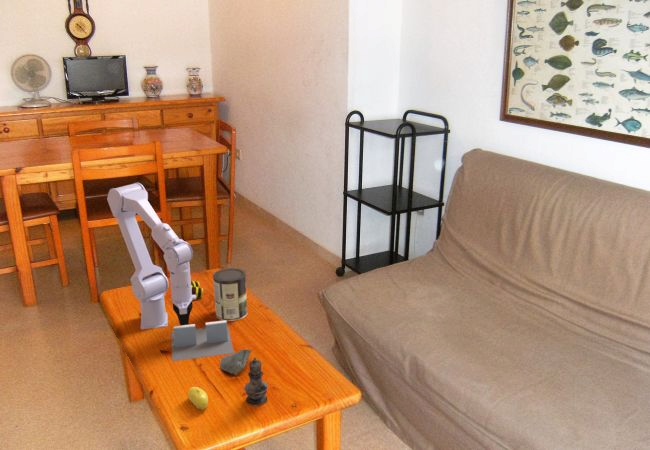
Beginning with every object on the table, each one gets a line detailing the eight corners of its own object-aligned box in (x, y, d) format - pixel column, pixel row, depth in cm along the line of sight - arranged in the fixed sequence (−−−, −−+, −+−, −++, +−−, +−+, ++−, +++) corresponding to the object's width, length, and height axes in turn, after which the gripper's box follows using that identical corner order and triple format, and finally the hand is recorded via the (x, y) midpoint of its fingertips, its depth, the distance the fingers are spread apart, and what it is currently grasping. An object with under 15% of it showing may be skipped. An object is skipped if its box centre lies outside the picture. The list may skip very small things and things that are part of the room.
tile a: (175, 344, 174) (173, 326, 172) (196, 342, 175) (194, 323, 173) (175, 347, 172) (173, 329, 170) (196, 344, 174) (195, 326, 172)
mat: (171, 333, 181) (171, 332, 181) (227, 326, 185) (227, 325, 185) (172, 362, 166) (172, 361, 165) (234, 354, 170) (234, 353, 170)
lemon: (195, 415, 144) (194, 401, 142) (186, 397, 150) (185, 384, 149) (212, 409, 145) (211, 396, 144) (202, 393, 152) (201, 379, 151)
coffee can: (238, 304, 200) (236, 265, 195) (253, 316, 191) (251, 276, 187) (210, 312, 194) (207, 272, 190) (223, 325, 186) (221, 283, 181)
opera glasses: (203, 302, 204) (205, 288, 203) (187, 302, 201) (189, 288, 200) (196, 291, 212) (198, 277, 211) (181, 291, 210) (183, 277, 208)
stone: (217, 385, 157) (253, 373, 157) (212, 371, 156) (248, 360, 156) (222, 366, 168) (255, 355, 168) (217, 354, 167) (251, 343, 167)
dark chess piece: (245, 393, 152) (243, 351, 148) (268, 392, 152) (267, 350, 148) (244, 407, 146) (242, 364, 142) (268, 406, 147) (267, 363, 143)
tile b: (206, 341, 176) (205, 322, 174) (227, 338, 177) (226, 320, 175) (207, 343, 174) (205, 325, 173) (227, 341, 176) (226, 322, 174)
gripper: (196, 292, 168) (199, 335, 172) (193, 272, 181) (196, 313, 186) (170, 295, 166) (174, 338, 171) (169, 275, 180) (173, 315, 184)
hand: (184, 325), depth 178 cm, fingers closed
